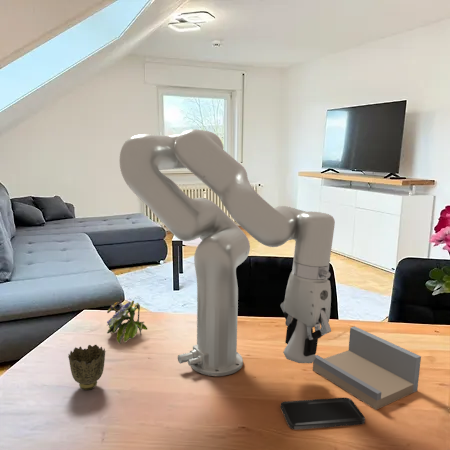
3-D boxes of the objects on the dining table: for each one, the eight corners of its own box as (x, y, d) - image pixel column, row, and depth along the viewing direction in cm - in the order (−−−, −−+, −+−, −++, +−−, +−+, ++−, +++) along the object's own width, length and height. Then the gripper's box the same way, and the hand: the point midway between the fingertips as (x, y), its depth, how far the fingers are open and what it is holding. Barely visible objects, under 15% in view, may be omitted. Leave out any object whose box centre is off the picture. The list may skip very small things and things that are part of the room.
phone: (367, 420, 80) (290, 426, 78) (366, 426, 80) (290, 431, 78) (349, 396, 88) (279, 401, 85) (349, 401, 88) (278, 406, 86)
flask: (315, 367, 90) (321, 323, 88) (281, 361, 91) (287, 318, 89) (315, 351, 97) (321, 310, 95) (284, 346, 98) (288, 305, 96)
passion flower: (114, 351, 118) (112, 309, 123) (153, 344, 118) (149, 303, 123) (101, 345, 108) (99, 299, 113) (143, 337, 108) (140, 292, 113)
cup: (104, 375, 95) (103, 342, 94) (108, 392, 88) (107, 357, 87) (69, 381, 93) (67, 347, 91) (70, 399, 86) (68, 363, 84)
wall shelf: (376, 409, 85) (379, 372, 83) (312, 370, 99) (314, 338, 98) (417, 390, 92) (421, 356, 90) (352, 356, 107) (354, 326, 105)
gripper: (353, 280, 85) (341, 363, 89) (296, 257, 99) (288, 329, 103) (326, 285, 81) (315, 371, 85) (271, 260, 95) (263, 335, 99)
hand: (300, 347), depth 94 cm, fingers closed on flask, 5 cm apart
